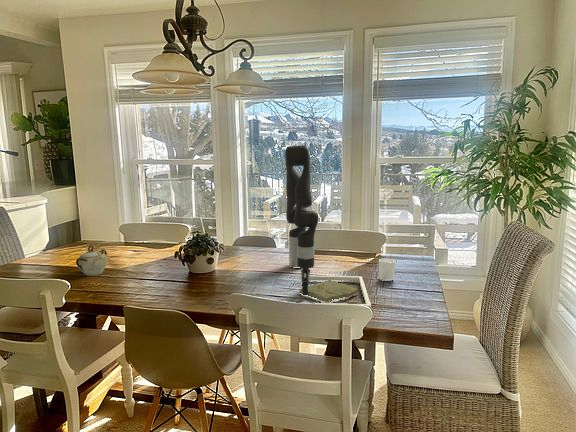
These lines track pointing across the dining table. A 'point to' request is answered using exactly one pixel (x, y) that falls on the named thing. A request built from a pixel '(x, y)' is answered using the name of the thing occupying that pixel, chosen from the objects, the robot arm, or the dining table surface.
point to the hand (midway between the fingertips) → (305, 291)
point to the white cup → (386, 268)
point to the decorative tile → (330, 290)
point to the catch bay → (345, 279)
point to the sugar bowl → (92, 262)
